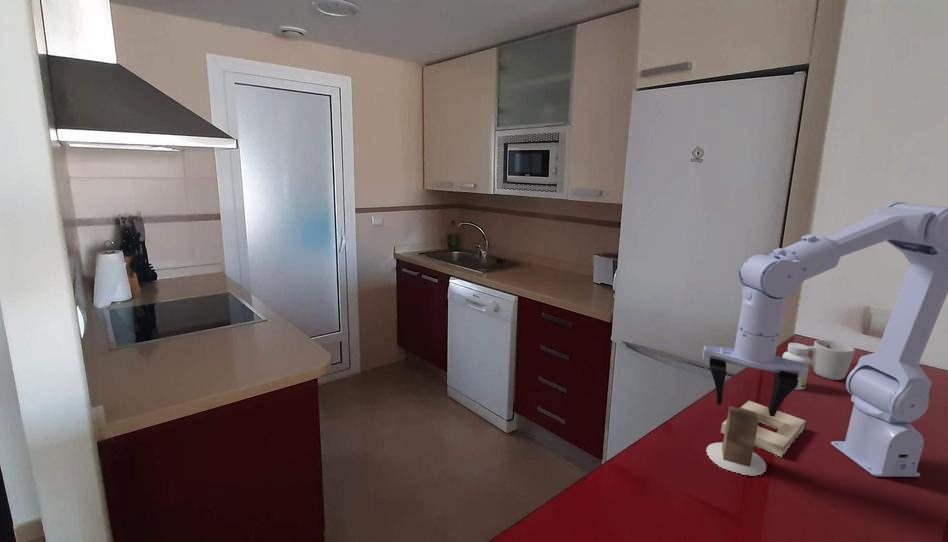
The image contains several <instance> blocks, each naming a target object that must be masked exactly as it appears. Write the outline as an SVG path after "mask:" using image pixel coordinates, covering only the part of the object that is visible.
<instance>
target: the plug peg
mask: <svg viewBox="0 0 948 542" xmlns="http://www.w3.org/2000/svg"><path fill="white" fill-rule="evenodd" d="M740 408H741V407H734V406H728V411H727V418H726V420H727V422H726V428H725V434H723V435H724V436H723V440H722V443H723V446H722V451H723V460H727V461H730V462H734V463H738V464H742V465H746V466H750V465H751V459H752V454H753V452H754V448H755V447H754V443H755V438H756V432H757V427H758V426H759V423H758V420H757V415H756V412H753V411H749V410H744V409H740Z"/></svg>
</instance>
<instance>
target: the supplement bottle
mask: <svg viewBox="0 0 948 542" xmlns="http://www.w3.org/2000/svg"><path fill="white" fill-rule="evenodd" d="M809 352H810V351H809V347H808V345H806V344H802V343H797V342H789V343H788V344H787V351H785V352H784V353H783V354H782V356H781V358H785V359H789V360H793V361H797V362H802V363H806V365H807V367H808V371H807V376H806V379H803V378H798V377H797V379H798V385H797V386H796V388H795V389H794V390H796V391H797V390H800V391H801V390H805V389H806V387H807V383H808V382H807V381H808V378H809V377H808V376H809V373H810V367H811V365H810V362H811V357H810V356H808V355H809Z"/></svg>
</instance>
